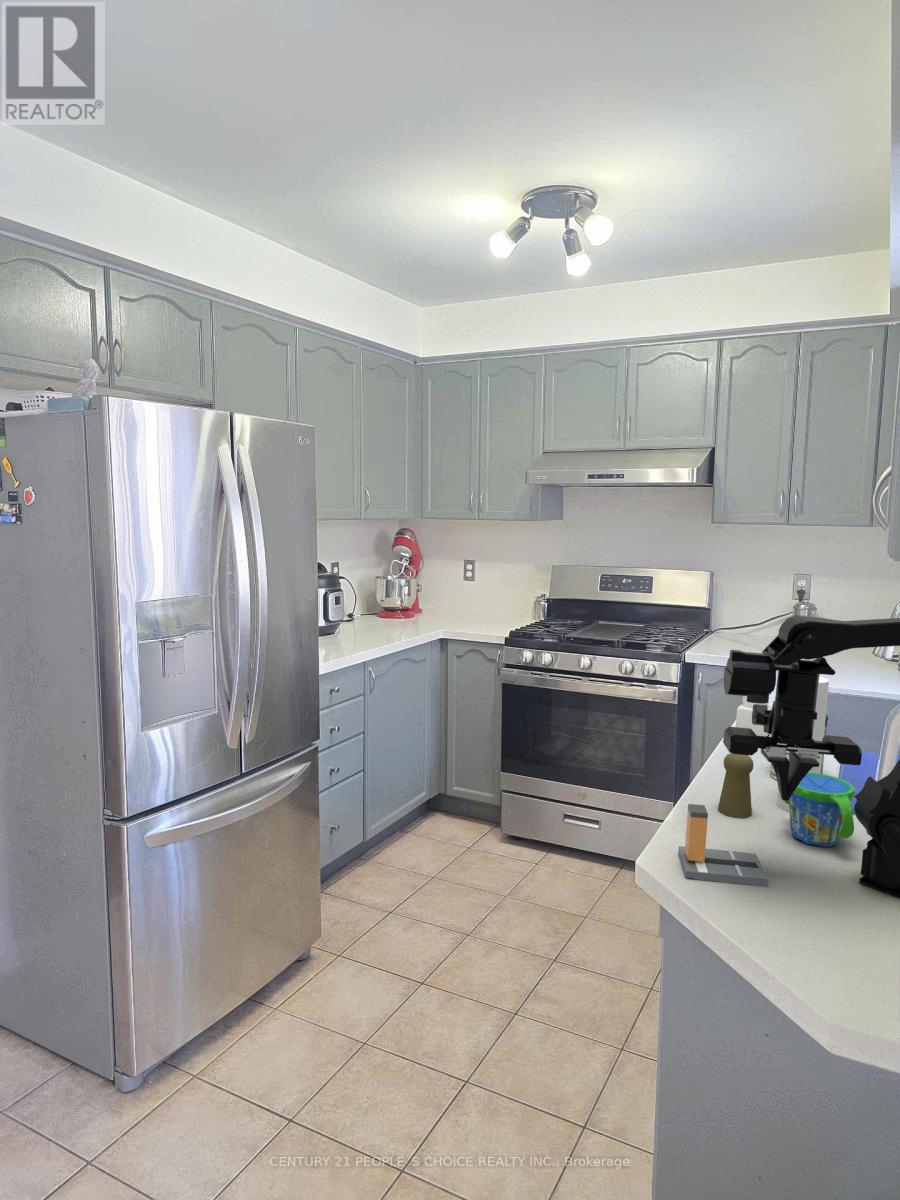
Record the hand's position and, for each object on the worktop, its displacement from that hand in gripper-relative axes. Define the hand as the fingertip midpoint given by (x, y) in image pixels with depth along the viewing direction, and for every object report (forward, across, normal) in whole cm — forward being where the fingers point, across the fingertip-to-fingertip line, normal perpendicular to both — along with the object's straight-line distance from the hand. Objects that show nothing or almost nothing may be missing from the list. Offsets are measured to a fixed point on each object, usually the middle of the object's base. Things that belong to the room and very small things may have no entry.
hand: (784, 799), depth 123 cm
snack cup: (+12, -10, -16) cm, 22 cm away
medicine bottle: (+12, -14, -80) cm, 82 cm away
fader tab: (+12, +12, 0) cm, 17 cm away
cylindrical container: (+12, -11, -30) cm, 35 cm away
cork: (+12, +1, -25) cm, 28 cm away
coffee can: (+12, -16, -48) cm, 52 cm away
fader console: (+12, +8, 0) cm, 15 cm away
